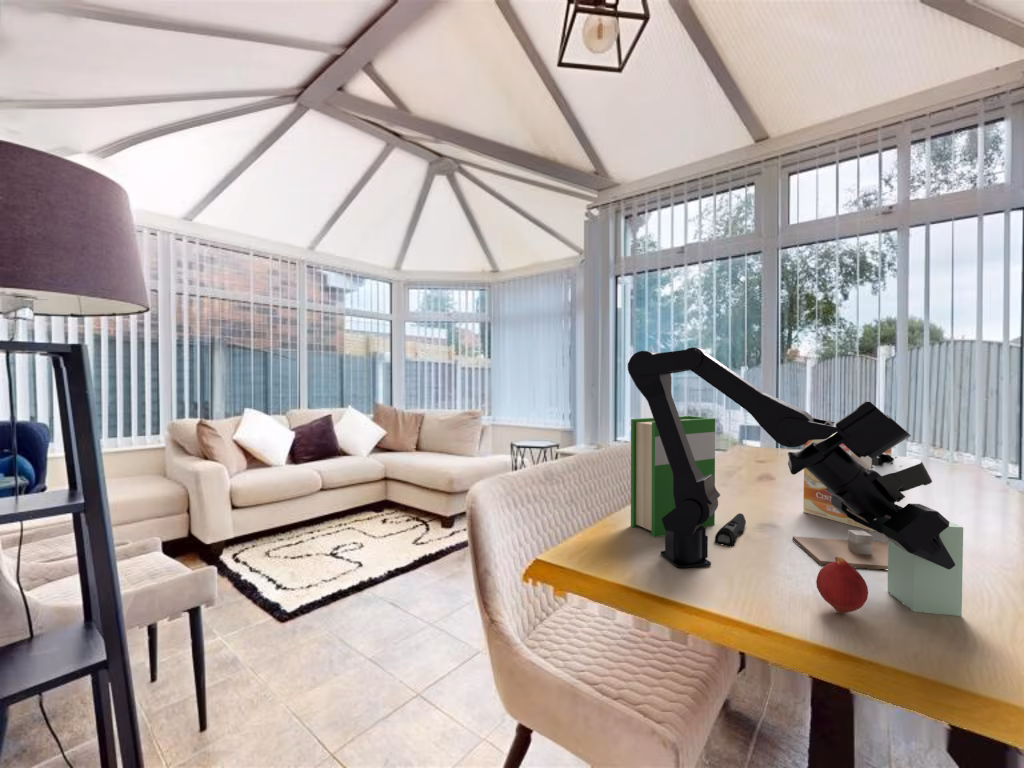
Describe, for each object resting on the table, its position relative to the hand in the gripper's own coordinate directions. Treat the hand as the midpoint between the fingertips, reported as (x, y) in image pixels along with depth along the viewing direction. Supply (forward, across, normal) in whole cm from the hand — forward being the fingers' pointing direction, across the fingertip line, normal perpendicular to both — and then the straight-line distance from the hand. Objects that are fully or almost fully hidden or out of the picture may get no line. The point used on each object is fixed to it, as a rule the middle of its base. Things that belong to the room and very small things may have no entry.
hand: (927, 553), depth 64 cm
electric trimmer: (-9, +25, +20) cm, 33 cm away
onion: (-4, -5, +15) cm, 16 cm away
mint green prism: (+5, 0, +6) cm, 8 cm away
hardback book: (-17, +28, +28) cm, 43 cm away
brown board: (+5, +18, +5) cm, 19 cm away
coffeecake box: (+11, +40, 0) cm, 42 cm away
